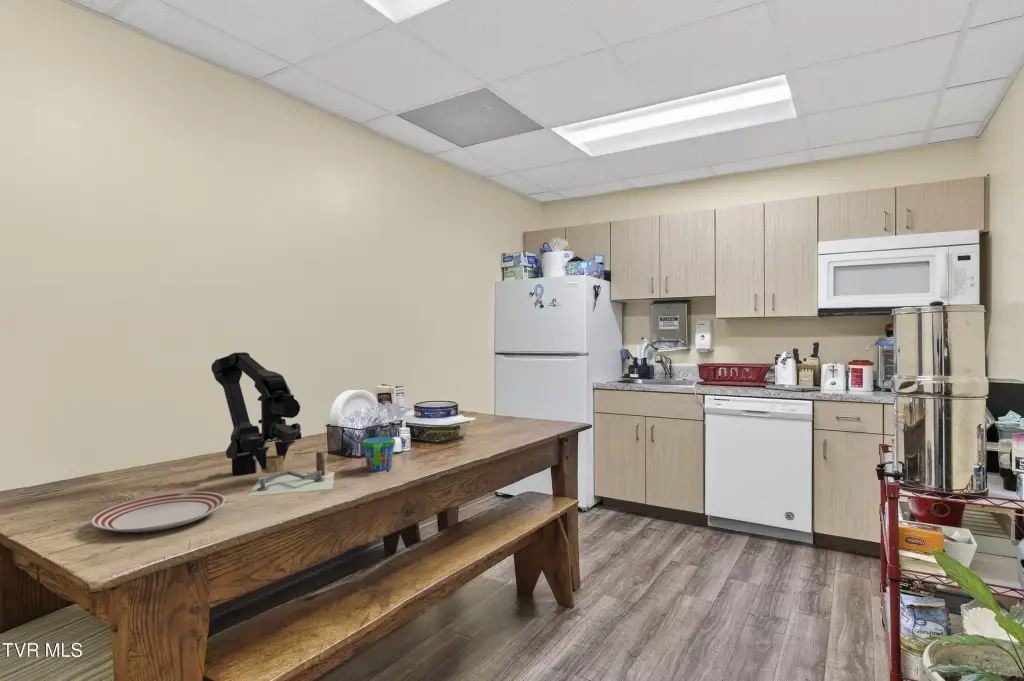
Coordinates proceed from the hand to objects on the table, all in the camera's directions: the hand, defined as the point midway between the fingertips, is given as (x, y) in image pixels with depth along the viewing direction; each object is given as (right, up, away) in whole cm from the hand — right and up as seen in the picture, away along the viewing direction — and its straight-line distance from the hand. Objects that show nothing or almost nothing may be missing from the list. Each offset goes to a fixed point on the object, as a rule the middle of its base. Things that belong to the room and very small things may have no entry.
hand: (272, 467), depth 169 cm
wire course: (+9, -4, -5) cm, 11 cm away
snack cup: (+30, -4, +13) cm, 33 cm away
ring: (0, -1, 0) cm, 1 cm away
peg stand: (+14, -4, +3) cm, 14 cm away
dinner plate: (-12, -5, -35) cm, 37 cm away
